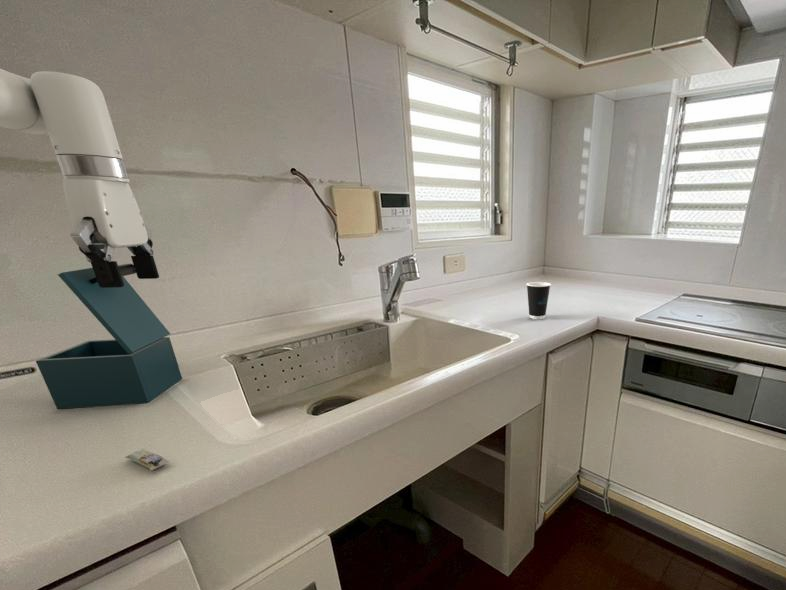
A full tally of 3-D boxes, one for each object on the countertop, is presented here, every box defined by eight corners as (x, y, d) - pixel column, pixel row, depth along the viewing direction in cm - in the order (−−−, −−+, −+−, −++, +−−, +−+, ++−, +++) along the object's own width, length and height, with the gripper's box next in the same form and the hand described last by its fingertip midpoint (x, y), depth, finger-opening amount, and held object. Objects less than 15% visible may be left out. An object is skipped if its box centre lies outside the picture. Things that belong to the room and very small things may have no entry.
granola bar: (125, 460, 54) (122, 453, 54) (145, 451, 56) (142, 445, 56) (152, 473, 51) (149, 466, 51) (172, 464, 53) (170, 457, 53)
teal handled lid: (57, 274, 62) (91, 259, 62) (109, 266, 72) (138, 253, 72) (128, 354, 67) (159, 340, 68) (166, 335, 78) (193, 323, 78)
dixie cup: (529, 313, 137) (530, 281, 133) (552, 315, 134) (553, 282, 130) (522, 318, 130) (522, 284, 126) (545, 321, 127) (547, 286, 123)
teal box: (57, 409, 68) (35, 360, 65) (104, 383, 79) (87, 340, 76) (148, 402, 71) (131, 355, 68) (182, 378, 81) (169, 336, 78)
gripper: (106, 175, 70) (138, 276, 76) (16, 164, 54) (66, 292, 60) (155, 176, 71) (182, 275, 77) (81, 165, 55) (124, 290, 62)
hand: (131, 282), depth 69 cm, fingers open, 9 cm apart
